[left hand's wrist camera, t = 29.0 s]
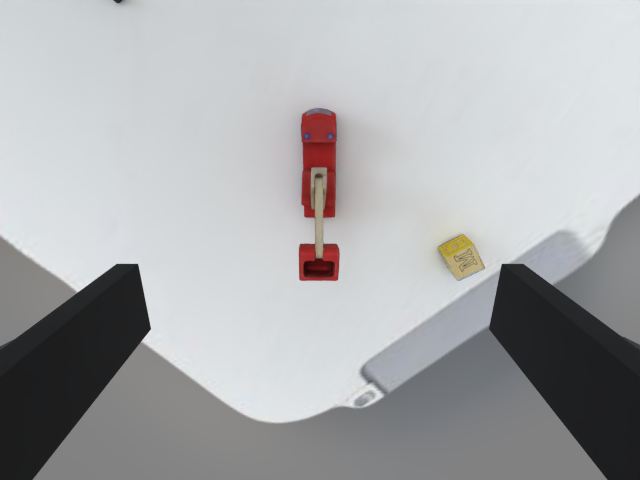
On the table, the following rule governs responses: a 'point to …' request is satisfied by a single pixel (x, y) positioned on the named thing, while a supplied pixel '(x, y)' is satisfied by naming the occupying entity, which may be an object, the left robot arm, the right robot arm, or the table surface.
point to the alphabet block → (461, 257)
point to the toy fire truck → (318, 193)
